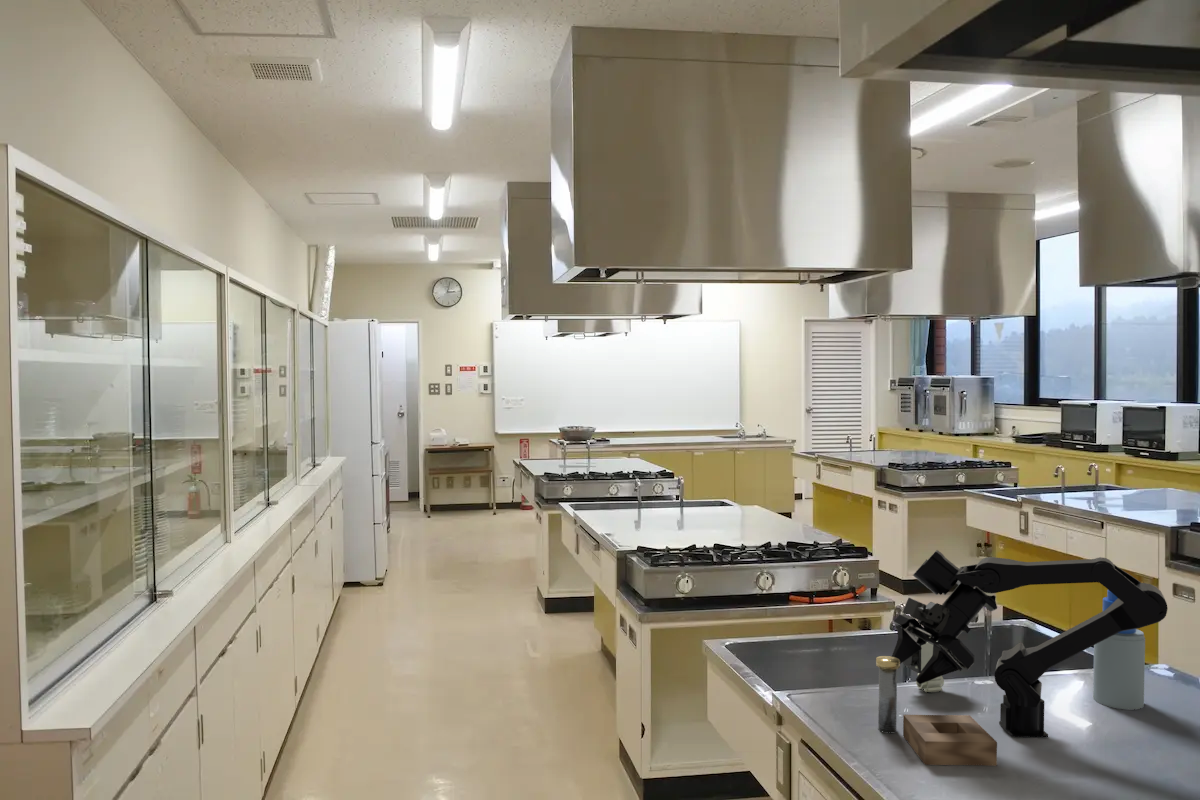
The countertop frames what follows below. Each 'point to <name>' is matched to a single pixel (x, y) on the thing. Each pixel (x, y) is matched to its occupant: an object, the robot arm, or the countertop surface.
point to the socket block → (949, 740)
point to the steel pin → (887, 692)
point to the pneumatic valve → (918, 664)
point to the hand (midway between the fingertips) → (903, 674)
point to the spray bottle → (1119, 667)
